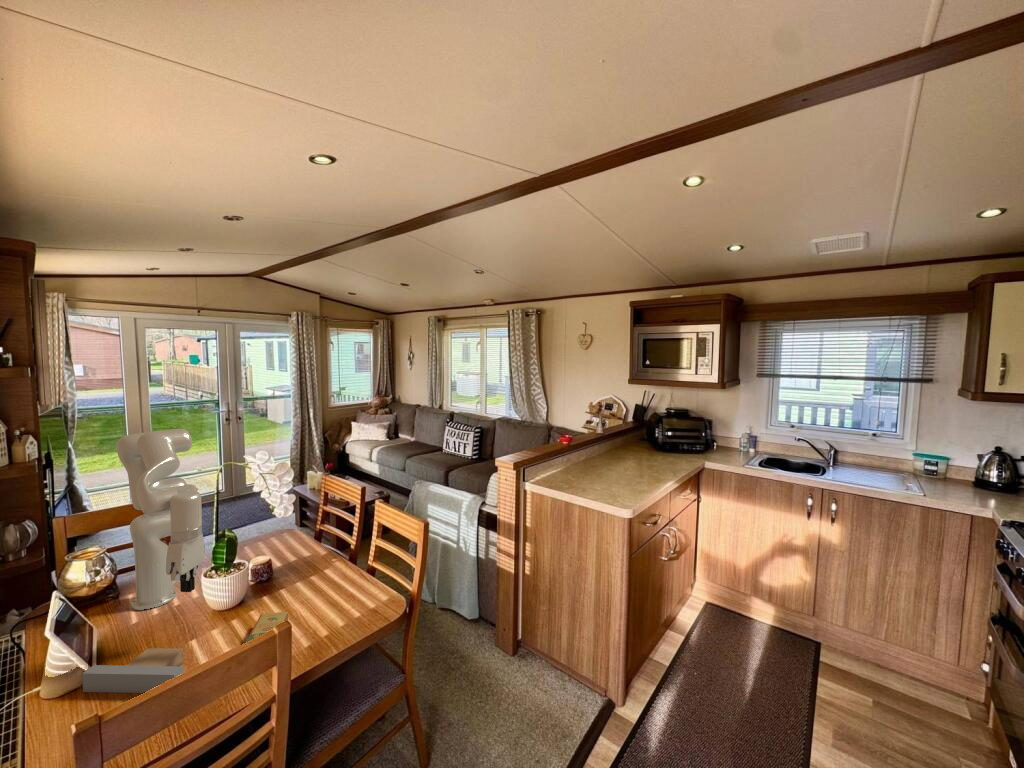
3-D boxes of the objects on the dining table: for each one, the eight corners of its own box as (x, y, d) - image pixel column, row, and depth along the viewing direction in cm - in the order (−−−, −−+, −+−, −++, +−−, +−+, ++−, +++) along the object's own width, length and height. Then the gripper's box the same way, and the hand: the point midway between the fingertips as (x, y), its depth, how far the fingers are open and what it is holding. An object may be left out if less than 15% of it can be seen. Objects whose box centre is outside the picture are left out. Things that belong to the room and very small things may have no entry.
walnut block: (148, 663, 121) (148, 648, 121) (183, 663, 121) (183, 648, 121) (122, 684, 113) (122, 668, 113) (160, 685, 113) (159, 668, 113)
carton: (288, 623, 140) (288, 610, 140) (274, 656, 124) (274, 642, 124) (260, 626, 138) (260, 613, 138) (242, 660, 122) (241, 646, 122)
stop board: (94, 683, 113) (93, 665, 113) (184, 684, 113) (183, 666, 112) (83, 692, 110) (82, 673, 110) (175, 693, 110) (174, 674, 110)
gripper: (193, 522, 136) (194, 576, 138) (153, 543, 121) (154, 604, 123) (216, 523, 136) (217, 578, 138) (179, 545, 121) (180, 606, 123)
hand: (187, 590), depth 130 cm, fingers closed
